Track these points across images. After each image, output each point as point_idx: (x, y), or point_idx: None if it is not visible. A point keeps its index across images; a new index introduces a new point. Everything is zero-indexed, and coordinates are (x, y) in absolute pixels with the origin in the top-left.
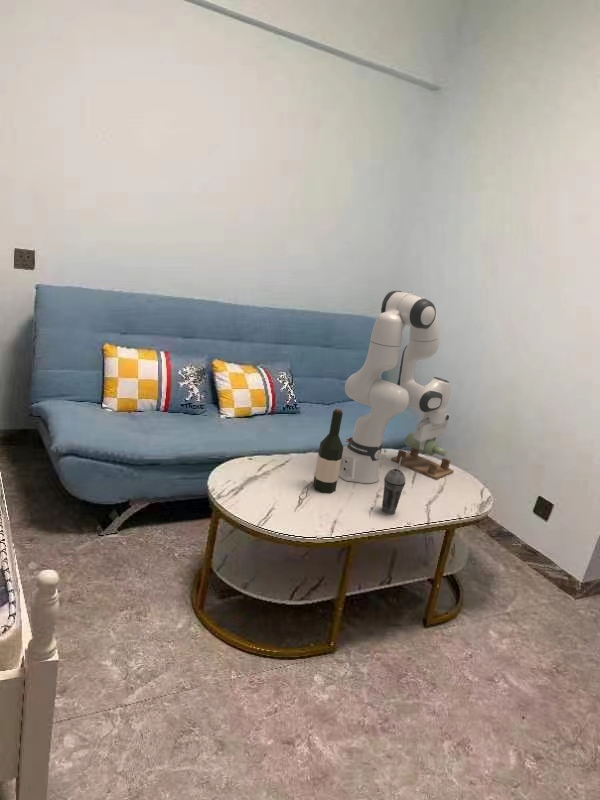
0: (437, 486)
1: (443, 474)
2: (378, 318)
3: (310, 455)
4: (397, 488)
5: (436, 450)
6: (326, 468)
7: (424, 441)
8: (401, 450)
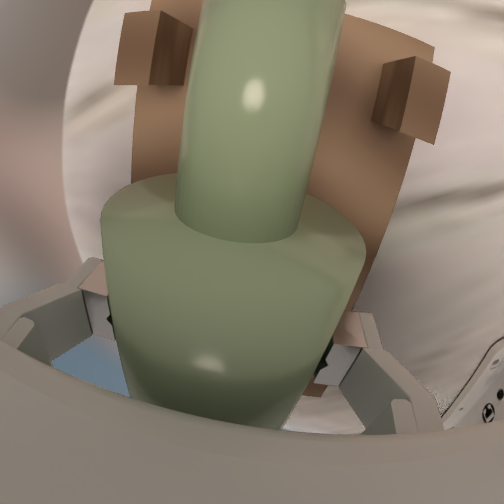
0: (499, 40)
1: None
2: None
3: None
4: None
5: (315, 144)
6: None
7: (424, 418)
8: (308, 388)
